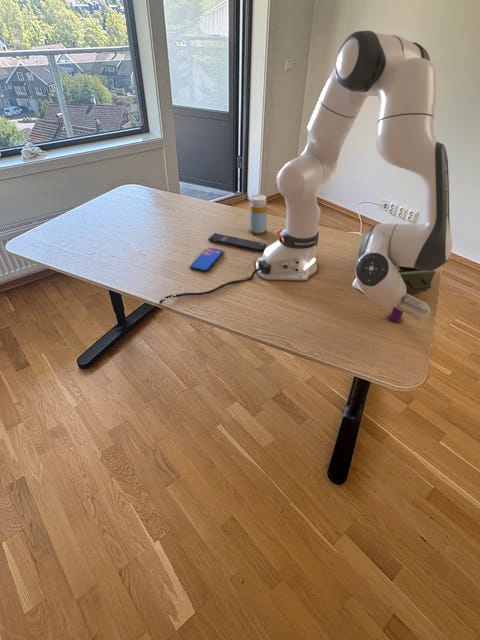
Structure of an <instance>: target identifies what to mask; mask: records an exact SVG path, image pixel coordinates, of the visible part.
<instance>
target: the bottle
mask: <svg viewBox="0 0 480 640" xmlns="http://www.w3.org/2000/svg"><path fill="white" fill-rule="evenodd" d="M267 217H268V208H267V196H266V195H264V194H252V195H251V197H250V207H249V232H251V234H253V235H257V236H259V235H263V234H265V233H266V232H267V219H268V218H267Z"/></svg>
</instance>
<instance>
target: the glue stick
mask: <svg viewBox="0 0 480 640" xmlns="http://www.w3.org/2000/svg"><path fill="white" fill-rule="evenodd" d="M403 314H404V312H402V311H400V310H398V309H396V308H394V307H392V309H391V313H390V315H389V320H390V321H392V322H393V323H394V322H395V323H399V322H400V321H401V319H402V318H403V317H402V316H403Z"/></svg>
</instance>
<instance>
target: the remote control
mask: <svg viewBox="0 0 480 640" xmlns="http://www.w3.org/2000/svg"><path fill="white" fill-rule="evenodd" d="M210 239H211V240H210ZM214 240H215V241H214ZM208 241H212V242H216V243H220V244H225V245H230V246H233V247H239V248H244V249H247V250H253V251H258V252H264V250H265V248H266V247H267V243H264V242H260V241H254V240H250V239H246V238H240V237H235V236H231V235H225V234H222V233H217V232H214V233H213V234H212V235H211V236H210V237H209V238H208Z"/></svg>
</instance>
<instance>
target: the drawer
mask: <svg viewBox="0 0 480 640" xmlns="http://www.w3.org/2000/svg"><path fill="white" fill-rule="evenodd" d="M395 267H396V268H397V270H398V272H399V274H400V276H401V277H402V279H403V281H404V283H405V285H406V294H418V293H428V291H429V290H430V289H432V285H431V284H432V281H433V278H434V276H435V274H436V270H432V271H426V270H420V269H415V268H411V267H400V266H395Z"/></svg>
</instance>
